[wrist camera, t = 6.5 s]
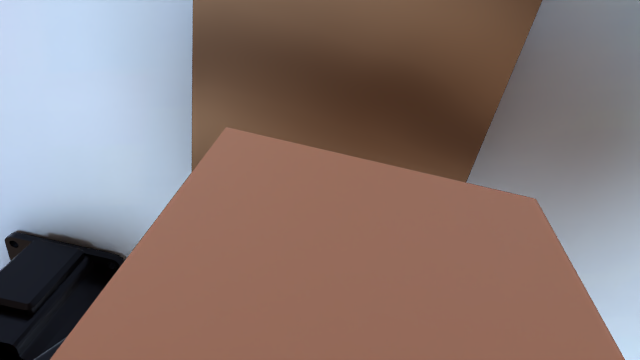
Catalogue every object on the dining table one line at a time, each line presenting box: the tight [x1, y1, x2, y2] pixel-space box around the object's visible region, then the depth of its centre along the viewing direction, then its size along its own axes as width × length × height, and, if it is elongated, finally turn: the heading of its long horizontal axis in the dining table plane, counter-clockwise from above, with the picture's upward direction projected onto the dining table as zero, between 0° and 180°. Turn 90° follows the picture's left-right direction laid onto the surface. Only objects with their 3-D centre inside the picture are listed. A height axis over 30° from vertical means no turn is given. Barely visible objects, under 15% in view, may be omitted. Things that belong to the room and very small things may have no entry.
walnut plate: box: [192, 0, 542, 183], centre depth 16 cm, size 11×11×2 cm
